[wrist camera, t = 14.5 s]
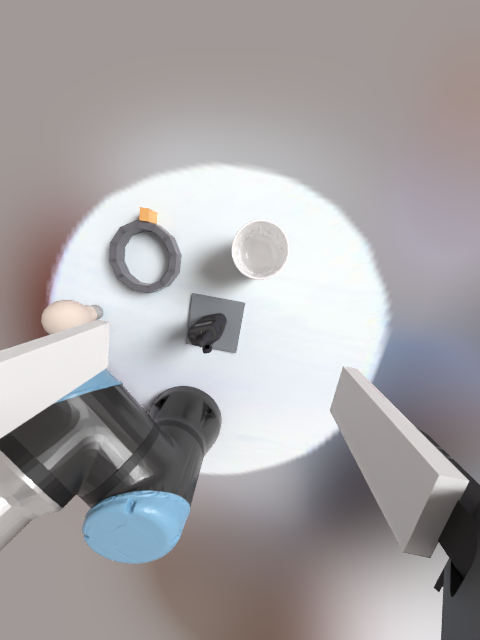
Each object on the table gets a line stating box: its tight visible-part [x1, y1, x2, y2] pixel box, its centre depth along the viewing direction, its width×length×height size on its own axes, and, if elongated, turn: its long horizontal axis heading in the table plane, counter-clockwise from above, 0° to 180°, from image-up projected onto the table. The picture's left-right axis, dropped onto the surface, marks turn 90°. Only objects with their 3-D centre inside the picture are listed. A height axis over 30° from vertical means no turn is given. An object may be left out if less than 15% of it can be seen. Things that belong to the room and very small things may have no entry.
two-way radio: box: [188, 313, 227, 353], centre depth 36 cm, size 6×4×15 cm
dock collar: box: [110, 207, 181, 293], centre depth 40 cm, size 14×12×3 cm
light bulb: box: [41, 300, 103, 335], centre depth 40 cm, size 7×7×11 cm
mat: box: [186, 293, 245, 353], centre depth 44 cm, size 10×10×1 cm
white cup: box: [232, 220, 289, 280], centre depth 36 cm, size 8×8×10 cm
